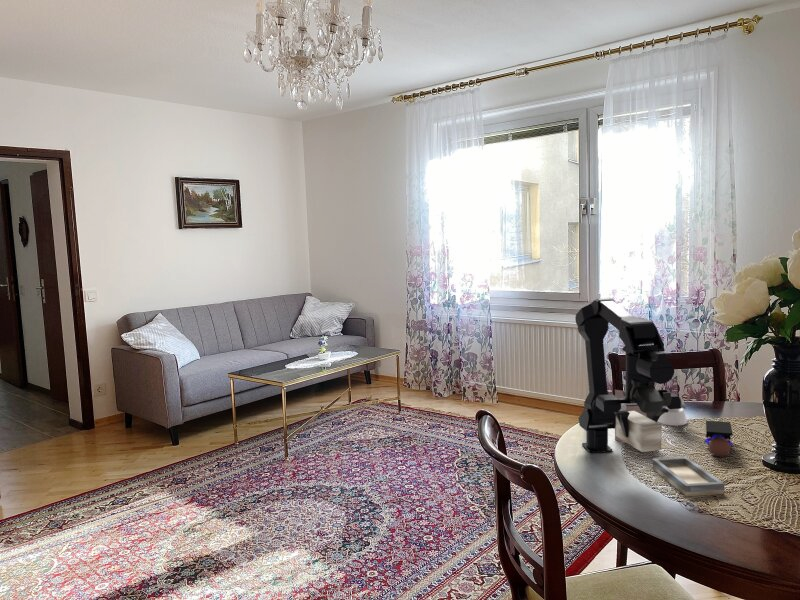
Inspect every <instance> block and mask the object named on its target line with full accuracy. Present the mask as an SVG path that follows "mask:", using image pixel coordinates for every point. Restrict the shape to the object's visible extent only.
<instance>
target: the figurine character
mask: <svg viewBox="0 0 800 600" xmlns="http://www.w3.org/2000/svg"><path fill="white" fill-rule="evenodd" d="M705 433H706V434H705V436H706V437H705V439H704V441H703V442H704V443H706V444H707V445H708V448H709V451H710V452H711V454H713V456H716V457H725V456H727V455H728V454H730V452H731V447H732V445H733V444H734V443H733V442H732V441H731V436H733V435H734V433H733V428H732V424H731V421H720V420H719V421H717V420H705Z"/></svg>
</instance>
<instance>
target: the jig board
mask: <svg viewBox="0 0 800 600" xmlns="http://www.w3.org/2000/svg"><path fill="white" fill-rule="evenodd" d="M651 461H652V465H651V467H652V469H653V471H654V472H656V473H658V474H659V475H660V477H662V478H663V479H664V480H666V481H667V482H668V483H669V484H670V485H671V486H673V487H674V488H675V489H677V490H678V491H679V492H680V493H681V494H682V495H684V496H685V497H697V496H711V495H724V494H725V482H723V481H722V480H721V479H719V478H717V477H716V476H715V475H713V474H712V473H711V472H709V471H707V470H706V469H704V468H703V467H702V466H700V465H699V464H698V463H696V462H695V461H693V460H692V459H691V458H689V457H687V456H680V457H677V456H676V457H662V458H661V457H660V458H652V460H651Z"/></svg>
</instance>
